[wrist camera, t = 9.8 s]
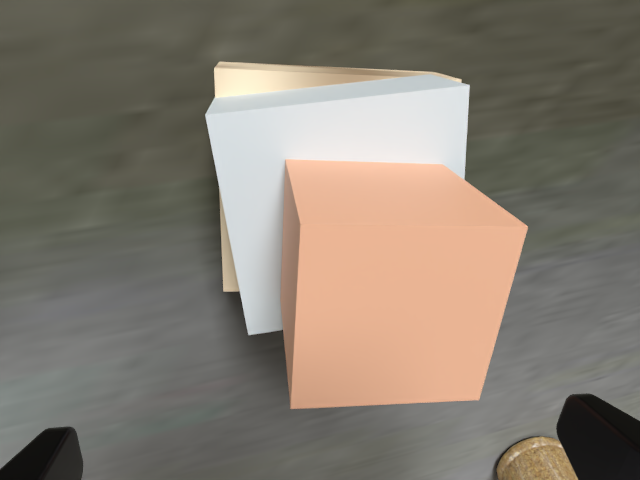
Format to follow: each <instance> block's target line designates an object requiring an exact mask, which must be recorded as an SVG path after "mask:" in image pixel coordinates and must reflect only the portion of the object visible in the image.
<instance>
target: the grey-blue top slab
mask: <svg viewBox="0 0 640 480" xmlns="http://www.w3.org/2000/svg"><path fill="white" fill-rule="evenodd" d="M469 86H470V85H467V84H464V83H460V82H456V81H453V80H449V79H446V78H442V77H439V76H435V75H432V74H427V75H418V76H409V77H400V78H391V79H382V80H373V81H364V82H354V83H345V84H336V85H327V86H318V87H309V88H300V89H291V90H282V91H272V92H263V93H254V94H245V95H236V96H227V97H218V98H214V100H213V102H212V103H211V105H210V107H209V109H208V111H207V113H206V114H205V116H206V121H207V126H208V131H209V137H210V142H211V147H212V152H213V157H214V162H215V167H216V172H217V177H218V183H219V188H220V193H221V198H222V203H223V208H224V213H225V218H226V223H227V228H228V234H229V239H230V244H231V249H232V254H233V259H234V264H235V269H236V274H237V280H238V285H239V290H240V295H241V300H242V305H243V310H244V315H245V320H246V326H247V331H248V335H253V334H260V333H266V332H273V331H280V330H283V323H282V313H281V302H280V295H281V267H282V239H283V211H284V183H285V159H294V160H326V161H357V162H388V163H419V164H443V165H444V166H446V167H447V168H449V169H450V170H451V171H453V172H454V173H455V174H457V175H458V176H459V177H461V178H462V179H464V176H465V158H466V140H467V122H468V104H469Z"/></svg>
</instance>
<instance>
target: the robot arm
mask: <svg viewBox="0 0 640 480" xmlns="http://www.w3.org/2000/svg"><path fill="white" fill-rule="evenodd" d="M556 429H557V435H558V438H559V441H560V443H561V445H562V447H563V449H564V451H565V453H566V455H567V457H568V459H569V462H570V464H571V466H572V468H573V470H574V472H575V474H576V476H577V478H578V480H640V421H639V420H637V419H635V418H633V417H632V416H630V415H628V414H626V413H625V412H623V411H621V410H619V409H617V408H616V407H614V406H612V405H610V404H609V403H607V402H605V401H603V400H602V399H600V398H598V397H596V396H594V395H592V394H573V395H570V396H569V397H568V398H567V399H566V401H565V404H564V406H563V409H562V412H561V414H560V417H559V420H558V422H557V428H556ZM82 473H83V459H82V455H81V450H80V446H79V442H78V437H77V433H76V431H75V429H74V428H73V427H57V428H48V429H46V430H44V431H43V432H41V433H40V434H39V435H38V436H37V437H36V438H35V439H34V440H32V441H31V442H30V443H29V444H28V445H27V446H26V447H25V448H23V449H22V450H21V451H20V452H19V453H18V454H17V455H16V456H15V457H13V458H12V459H11V460H10V461H9V462H8V463H7V464H6V465H5V466H3V467H2V468H1V469H0V480H81V478H82Z"/></svg>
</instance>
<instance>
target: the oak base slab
mask: <svg viewBox="0 0 640 480" xmlns="http://www.w3.org/2000/svg"><path fill="white" fill-rule="evenodd" d="M427 74H432V75H435V76H439V77H442V78H446V79H449V80H453V81H456V82H460V83H461V79H457V78H454V77H450V76H446V75H443V74H439V73H435V72H422V71H401V70H380V69H360V68H339V67H318V66H298V65H277V64H256V63H236V62H219V63H218V64H217V65H216V67H215V68H214V77H215V98H218V97H227V96H236V95H245V94H254V93H263V92H272V91H282V90H291V89H300V88H309V87H318V86H327V85H336V84H345V83H354V82H364V81H373V80H382V79H391V78H400V77H409V76H418V75H427ZM219 196H220V220H221V244H222V267H223V291H224V292H232V291H240V290H239V285H238V280H237V274H236V269H235V264H234V259H233V254H232V249H231V244H230V239H229V234H228V228H227V223H226V218H225V213H224V208H223V203H222V198H221V193H220V188H219Z"/></svg>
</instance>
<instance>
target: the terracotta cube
mask: <svg viewBox="0 0 640 480" xmlns="http://www.w3.org/2000/svg"><path fill="white" fill-rule="evenodd" d="M527 229H528V226H526V225H525V224H524V223H522V222H521V221H520V220H518V219H517V218H516V217H514V216H513V215H511V214H510V213H509V212H507V211H506V210H505V209H503V208H502V207H500V206H499V205H498V204H496V203H495V202H494V201H492V200H491V199H490V198H488V197H487V196H485V195H484V194H483V193H481V192H480V191H479V190H477V189H476V188H475V187H473V186H472V185H470V184H469V183H468V182H466V181H465V180H464V179H462V178H461V177H459V176H458V175H457V174H455V173H454V172H453V171H451V170H450V169H449V168H447V167H446V166H444V165H443V164H419V163H388V162H357V161H326V160H294V159H285V183H284V211H283V239H282V267H281V295H280V302H281V313H282V323H283V334H284V344H285V355H286V365H287V376H288V386H289V397H290V408H291V409H304V408H324V407H344V406H365V405H385V404H406V403H426V402H446V401H467V400H479V398H480V395H481V391H482V388H483V384H484V381H485V377H486V374H487V370H488V367H489V363H490V359H491V356H492V352H493V349H494V345H495V342H496V338H497V335H498V331H499V328H500V324H501V321H502V317H503V314H504V310H505V307H506V303H507V299H508V296H509V292H510V289H511V285H512V282H513V278H514V275H515V271H516V268H517V264H518V261H519V257H520V254H521V250H522V246H523V243H524V239H525V236H526V232H527Z"/></svg>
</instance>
